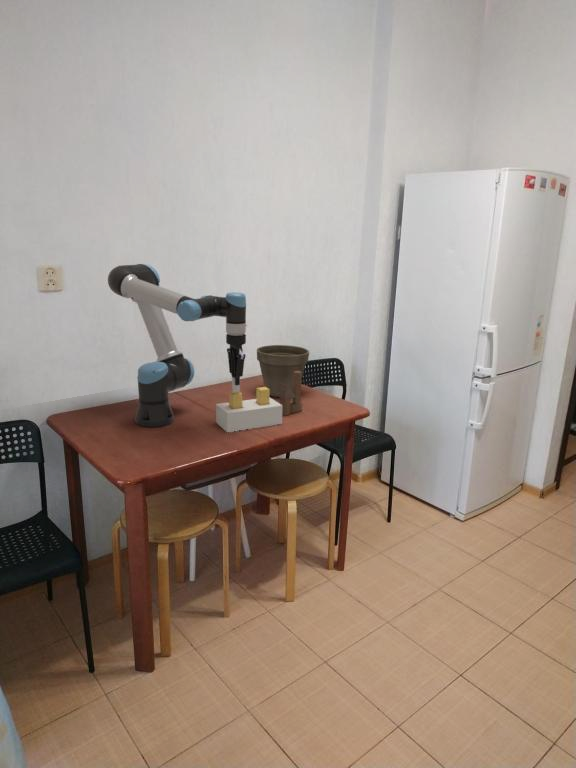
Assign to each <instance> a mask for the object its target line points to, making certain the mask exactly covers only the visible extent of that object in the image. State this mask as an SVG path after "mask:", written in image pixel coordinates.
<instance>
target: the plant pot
mask: <svg viewBox="0 0 576 768" xmlns="http://www.w3.org/2000/svg"><path fill="white" fill-rule="evenodd" d="M309 355H310V350H309V349H307V348H304V347H301V346H296V345H289V344H288V345H287V344H285V345H284V344H270V345H264V346H263V345H262V346H260V347H257V348H256V359H257V361H258V362H259V367H260V371H261V377H262V381H263V385H264V386H263V387H266V388H268V389H270V396H271V397H274V398H279V395H280V383H283V384H286V385H287V387H288V388H289V389H290V390H291V391H292V392H293V372H294V371H301V372H302V376H303V374H304V371H305V368H306V364H307V363H308V361H309V357H310V356H309ZM301 379H302V377H301ZM270 396H269V397H270Z"/></svg>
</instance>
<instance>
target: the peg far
mask: <svg viewBox="0 0 576 768" xmlns="http://www.w3.org/2000/svg"><path fill="white" fill-rule="evenodd" d="M255 390H256V397H255V399H256V403H257V404H258V405H268V404H269V397H270V389H268V388H266V387H265V386H263V387H262V386H261V387H256V389H255Z"/></svg>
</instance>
